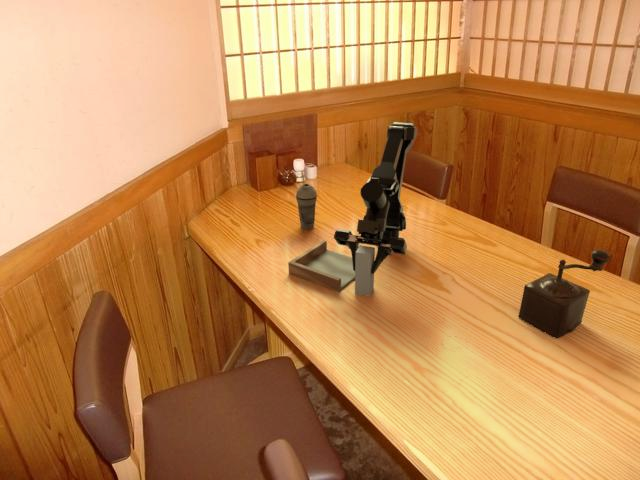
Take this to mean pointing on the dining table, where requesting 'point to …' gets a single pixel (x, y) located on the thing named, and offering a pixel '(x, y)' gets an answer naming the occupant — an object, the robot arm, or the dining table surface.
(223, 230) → the dining table surface
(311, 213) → the beverage cup
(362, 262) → the slate block
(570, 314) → the manual coffee grinder
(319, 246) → the tray
